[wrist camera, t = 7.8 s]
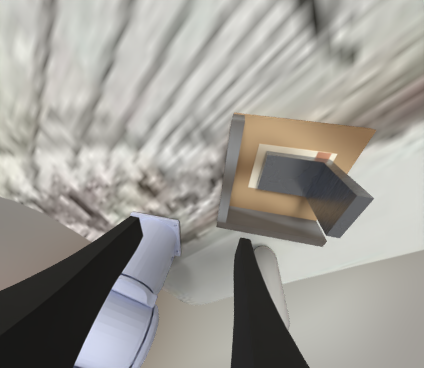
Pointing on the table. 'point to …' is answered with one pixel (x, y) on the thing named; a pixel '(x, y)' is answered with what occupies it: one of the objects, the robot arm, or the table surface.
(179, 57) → the table surface
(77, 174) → the table surface
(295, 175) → the bracket
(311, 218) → the tray
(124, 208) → the table surface
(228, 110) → the table surface
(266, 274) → the donut
